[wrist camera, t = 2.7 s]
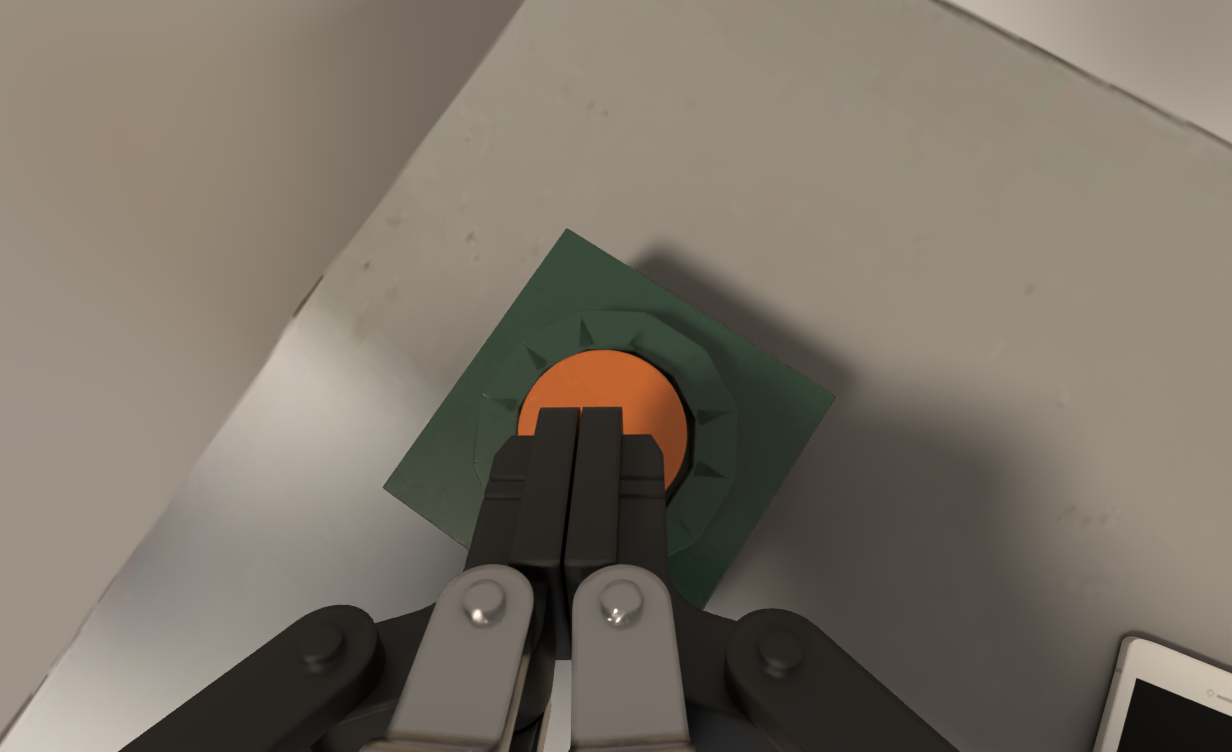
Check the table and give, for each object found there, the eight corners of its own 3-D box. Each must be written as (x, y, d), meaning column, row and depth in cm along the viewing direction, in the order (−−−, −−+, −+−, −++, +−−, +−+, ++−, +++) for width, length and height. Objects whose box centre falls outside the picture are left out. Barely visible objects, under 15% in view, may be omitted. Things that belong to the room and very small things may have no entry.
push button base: (449, 489, 27) (356, 487, 19) (586, 293, 29) (559, 203, 20) (653, 633, 26) (657, 704, 17) (787, 421, 27) (855, 386, 18)
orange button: (498, 459, 19) (483, 456, 17) (585, 333, 19) (579, 317, 18) (627, 549, 18) (625, 554, 17) (713, 416, 19) (720, 408, 17)
